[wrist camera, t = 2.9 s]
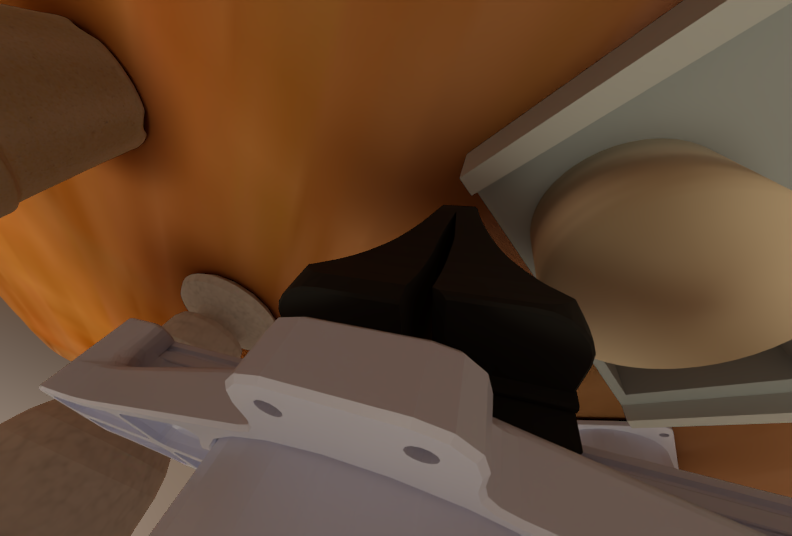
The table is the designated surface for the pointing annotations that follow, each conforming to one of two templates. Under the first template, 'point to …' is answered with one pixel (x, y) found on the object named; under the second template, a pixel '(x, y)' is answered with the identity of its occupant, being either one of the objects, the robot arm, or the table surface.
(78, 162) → the flower pot
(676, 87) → the trap board
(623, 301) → the beige rounded dome
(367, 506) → the robot arm
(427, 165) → the table surface
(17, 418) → the table lamp
